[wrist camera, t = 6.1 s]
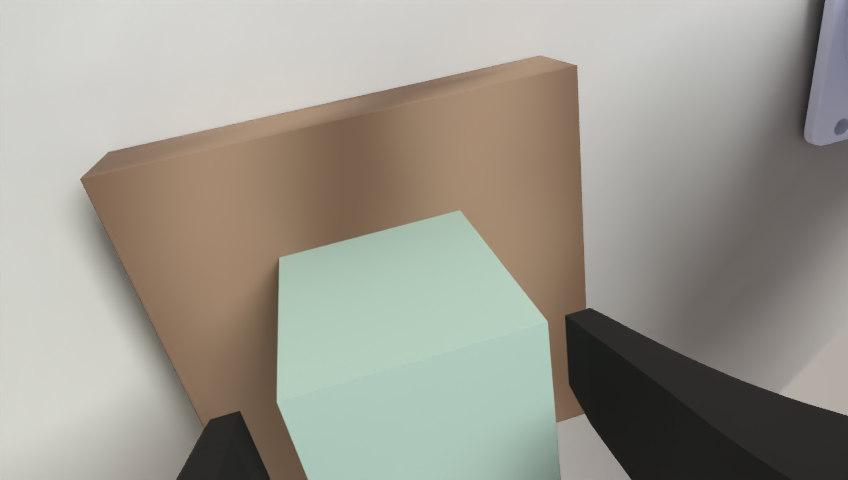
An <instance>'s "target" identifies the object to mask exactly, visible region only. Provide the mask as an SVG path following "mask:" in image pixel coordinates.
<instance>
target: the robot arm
mask: <svg viewBox="0 0 848 480" xmlns="http://www.w3.org/2000/svg"><path fill="white" fill-rule="evenodd" d="M835 126H836V127H835ZM804 137H805V139H806V141H807V142H809V143H811V144H814V145H818V146H824V145H827V144H831V143H835V142H839V141H842V140H846V139H848V0H825V6H824V12H823V18H822V24H821V30H820V36H819V43H818V49H817V55H816V61H815V67H814V73H813V80H812V86H811V92H810V98H809V104H808V111H807V117H806V123H805V129H804ZM565 327H566V344H567V361H568V378H569V386H570V388H571V389H572V391H573V393H574V395H575V397H576V399H577V401H578V402H579V404H580V406H581V408H582V409H583V411H584V413H585V415H586V416H587V418H588V420H589V422H590V423H591V425H592V426H593V428H594V429H595V430H596V432H597V433H598V435H599V436H600V437H601V439H602V440H603V442H604V443H605V444H606V446H607V447H608V448H609V450H610V451H611V452H612V454H613V455H614V457H615V458H616V459H617V461H618V462H619V463H620V465H621V466H622V467H623V469H624V470H625V471H626V473H627V474H628V475H629V477H630V478H631V480H848V416H847V415H843V414H840V413H836V412H833V411H830V410H826V409H823V408H819V407H816V406H812V405H809V404H806V403H803V402H800V401H797V400H794V399H791V398H788V397H784V396H782V395H779V394H777V393H774V392H771V391H768V390H766V389H763V388H760V387H757V386H754V385H752V384H749V383H746V382H744V381H741V380H739V379H736V378H734V377H731V376H729V375H727V374H724V373H722V372H720V371H717V370H715V369H713V368H710V367H708V366H706V365H704V364H701V363H699V362H697V361H695V360H692V359H690V358H688V357H686V356H684V355H682V354H680V353H678V352H675V351H673V350H671V349H669V348H667V347H665V346H663V345H661V344H659V343H657V342H655V341H653V340H651V339H649V338H647V337H645V336H643V335H642V334H640V333H638V332H636V331H634V330H632V329H630V328H628V327H626V326H624V325H622V324H620V323H619V322H617V321H615V320H613V319H611V318H609V317H607V316H605V315H603V314H601V313H599V312H597V311H595V310H593V309H591V308H588V309H585V310H581V311H578V312H575V313H571V314H568V315H565ZM176 480H270V477H269V475H268V472H267V470H266V468H265V466H264V463H263V461H262V459H261V457H260V454H259V452H258V450H257V448H256V445H255V443H254V441H253V439H252V436H251V434H250V432H249V430H248V427H247V425H246V423H245V421H244V419H243V416H242V414H241V412H240V411H237V412H234V413H230V414H227V415H223V416H220V417H217V418H213V419H210V420H209V422H208V424H207V425H206V427H205V429H204V430H203V432H202V434H201V436H200V438H199V439H198V441H197V443H196V445H195V447H194V449H193V450H192V452H191V454H190V456H189V458H188V459H187V461H186V463H185V465H184V467H183V468H182V470H181V472H180V474H179V476H178V477H177V479H176Z"/></svg>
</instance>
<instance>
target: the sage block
mask: <svg viewBox="0 0 848 480" xmlns="http://www.w3.org/2000/svg"><path fill="white" fill-rule="evenodd" d="M277 404H278V407H279V409H280V412H281V414H282V417H283V419H284V421H285V424H286V426H287V429H288V431H289V434H290V436H291V439H292V441H293V444H294V446H295V449H296V451H297V454H298V456H299V458H300V461H301V463H302V466H303V468H304V471H305V473H306V476H307V478H308V480H561V478H560V465H559V453H558V441H557V429H556V417H555V404H554V392H553V380H552V368H551V356H550V344H549V331H548V321H547V320H546V319H545V318H544V316H543V315H542V314H541V313H540V311H539V310H538V309H537V307H536V306H535V305H534V304H533V302H532V301H531V300H530V299H529V297H528V296H527V295H526V293H525V292H524V291H523V290H522V288H521V287H520V286H519V285H518V283H517V282H516V281H515V279H514V278H513V277H512V276H511V274H510V273H509V272H508V271H507V269H506V268H505V267H504V265H503V264H502V263H501V262H500V260H499V259H498V258H497V257H496V255H495V254H494V253H493V251H492V250H491V249H490V248H489V246H488V245H487V244H486V243H485V241H484V240H483V239H482V237H481V236H480V235H479V234H478V232H477V231H476V230H475V229H474V227H473V226H472V225H471V223H470V222H469V221H468V220H467V218H466V217H465V216H464V215H463V213H462V212H461V211H460V210H459V211H455V212H451V213H448V214H444V215H440V216H436V217H432V218H429V219H425V220H421V221H417V222H413V223H409V224H406V225H402V226H398V227H394V228H390V229H387V230H383V231H379V232H375V233H371V234H368V235H364V236H360V237H356V238H352V239H348V240H345V241H341V242H337V243H333V244H329V245H326V246H322V247H318V248H314V249H310V250H307V251H303V252H299V253H295V254H291V255H287V256H284V257H280V258H279V299H278V356H277Z"/></svg>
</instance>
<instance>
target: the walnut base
mask: <svg viewBox="0 0 848 480" xmlns="http://www.w3.org/2000/svg"><path fill="white" fill-rule="evenodd" d="M80 180H81V182H82V184H83V186H84V188H85V190H86V192H87V194H88V196H89V198H90V200H91V202H92V204H93V206H94V208H95V210H96V212H97V214H98V216H99V218H100V220H101V222H102V224H103V226H104V228H105V230H106V232H107V234H108V236H109V238H110V240H111V242H112V244H113V246H114V248H115V250H116V252H117V254H118V256H119V258H120V260H121V262H122V264H123V266H124V268H125V270H126V272H127V274H128V276H129V278H130V280H131V282H132V284H133V286H134V288H135V290H136V292H137V294H138V296H139V298H140V300H141V302H142V304H143V306H144V308H145V310H146V312H147V314H148V316H149V318H150V320H151V322H152V324H153V326H154V328H155V330H156V332H157V334H158V336H159V338H160V340H161V342H162V344H163V346H164V348H165V350H166V352H167V354H168V356H169V358H170V360H171V362H172V364H173V366H174V368H175V370H176V372H177V374H178V376H179V378H180V380H181V382H182V384H183V386H184V388H185V390H186V392H187V394H188V396H189V398H190V400H191V402H192V404H193V406H194V408H195V410H196V412H197V414H198V416H199V418H200V420H201V422H202V424H203V426H204V428H205V427H206V425H207V424H208V422H209V420H210V419H213V418H217V417H220V416H223V415H227V414H230V413H234V412H237V411H240V412H241V414H242V416H243V419H244V421H245V423H246V425H247V427H248V430H249V432H250V434H251V436H252V439H253V441H254V443H255V445H256V448H257V450H258V452H259V454H260V457H261V459H262V461H263V463H264V466H265V468H266V470H267V472H268V475H269V477H270V480H308V478H307V476H306V473H305V471H304V468H303V466H302V463H301V461H300V458H299V456H298V454H297V451H296V449H295V446H294V444H293V441H292V439H291V436H290V434H289V431H288V429H287V426H286V424H285V421H284V419H283V417H282V414H281V412H280V409H279V407H278V404H277V356H278V299H279V258H280V257H284V256H287V255H291V254H295V253H299V252H303V251H307V250H310V249H314V248H318V247H322V246H326V245H329V244H333V243H337V242H341V241H345V240H348V239H352V238H356V237H360V236H364V235H368V234H371V233H375V232H379V231H383V230H387V229H390V228H394V227H398V226H402V225H406V224H409V223H413V222H417V221H421V220H425V219H429V218H432V217H436V216H440V215H444V214H448V213H451V212H455V211H459V210H460V211H461V212H462V213H463V215H464V216H465V217H466V218H467V220H468V221H469V222H470V223H471V225H472V226H473V227H474V229H475V230H476V231H477V232H478V234H479V235H480V236H481V237H482V239H483V240H484V241H485V243H486V244H487V245H488V246H489V248H490V249H491V250H492V251H493V253H494V254H495V255H496V257H497V258H498V259H499V260H500V262H501V263H502V264H503V265H504V267H505V268H506V269H507V271H508V272H509V273H510V274H511V276H512V277H513V278H514V279H515V281H516V282H517V283H518V285H519V286H520V287H521V288H522V290H523V291H524V292H525V293H526V295H527V296H528V297H529V299H530V300H531V301H532V302H533V304H534V305H535V306H536V307H537V309H538V310H539V311H540V313H541V314H542V315H543V316H544V318H545V319H546V320H547V321H548V331H549V344H550V356H551V368H552V380H553V392H554V404H555V417H556V423H557V422H560V421H563V420H566V419H569V418H572V417H575V416H579V415H582V414H585V413H584V411H583V409H582V408H581V406H580V404H579V402H578V401H577V399H576V397H575V395H574V393H573V391H572V389H571V388H570V386H569V378H568V361H567V344H566V327H565V315H568V314H571V313H575V312H578V311H581V310H585V309H586V297H585V269H584V242H583V215H582V187H581V160H580V133H579V105H578V78H577V65H573V64H569V63H566V62H562V61H558V60H555V59H551V58H547V57H544V56H537V57H532V58H528V59H524V60H519V61H515V62H510V63H506V64H501V65H497V66H492V67H488V68H483V69H479V70H474V71H470V72H465V73H461V74H456V75H452V76H447V77H443V78H439V79H434V80H430V81H425V82H421V83H416V84H412V85H407V86H403V87H398V88H394V89H389V90H385V91H380V92H376V93H371V94H367V95H362V96H358V97H354V98H349V99H345V100H340V101H336V102H331V103H327V104H322V105H318V106H313V107H309V108H304V109H300V110H295V111H291V112H286V113H282V114H277V115H273V116H269V117H264V118H260V119H255V120H251V121H246V122H242V123H237V124H233V125H228V126H224V127H219V128H215V129H210V130H206V131H201V132H197V133H193V134H188V135H184V136H179V137H175V138H170V139H166V140H161V141H157V142H152V143H148V144H143V145H139V146H134V147H130V148H125V149H121V150H116V151H112V152H108V153H107V154H106V155H105V156H104V157H103V158H102V159H101V160H100V161H99V162H98V163H97V164H96V165H94V166H93V167H92V168H91V169H90V170H89V171H88V172H87V173H86V174H85V175H84V176H83V177H82V178H81V179H80Z"/></svg>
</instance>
